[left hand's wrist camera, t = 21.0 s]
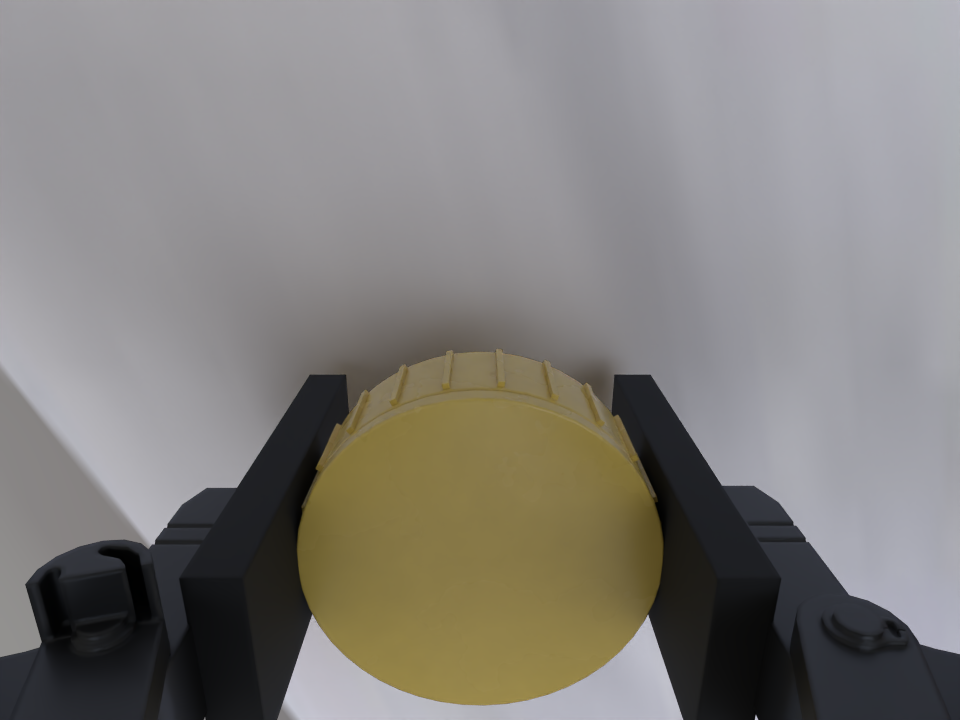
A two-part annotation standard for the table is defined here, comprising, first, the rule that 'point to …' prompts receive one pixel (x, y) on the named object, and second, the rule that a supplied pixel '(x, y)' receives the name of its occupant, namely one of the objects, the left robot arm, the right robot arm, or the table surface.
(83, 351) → the table surface
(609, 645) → the lid
